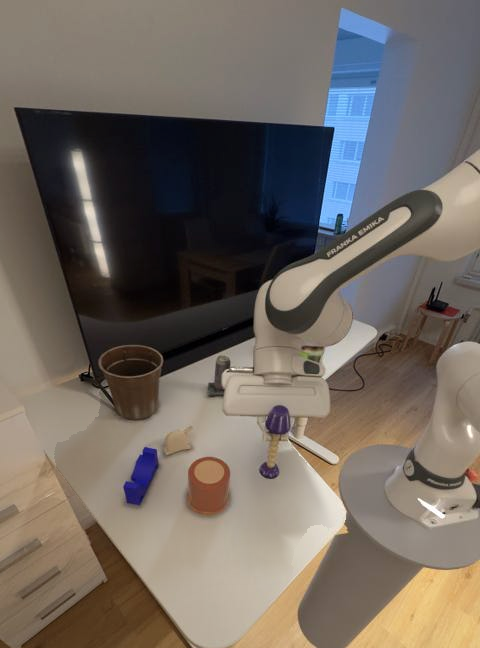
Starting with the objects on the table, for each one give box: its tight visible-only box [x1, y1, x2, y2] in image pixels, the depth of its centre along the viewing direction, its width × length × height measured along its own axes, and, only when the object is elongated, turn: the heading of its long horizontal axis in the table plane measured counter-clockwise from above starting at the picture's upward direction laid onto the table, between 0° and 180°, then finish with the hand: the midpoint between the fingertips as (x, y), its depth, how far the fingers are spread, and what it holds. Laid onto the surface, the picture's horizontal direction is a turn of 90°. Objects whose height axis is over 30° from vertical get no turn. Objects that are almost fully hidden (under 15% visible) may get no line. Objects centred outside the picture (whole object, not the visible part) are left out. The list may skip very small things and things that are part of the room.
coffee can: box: [300, 346, 326, 364], centre depth 123 cm, size 10×10×14 cm
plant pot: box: [98, 344, 164, 421], centre depth 95 cm, size 16×16×16 cm
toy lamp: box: [258, 405, 291, 480], centre depth 65 cm, size 5×5×17 cm
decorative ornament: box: [163, 425, 194, 456], centre depth 89 cm, size 4×8×5 cm, turn 115°
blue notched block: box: [122, 446, 160, 507], centre depth 79 cm, size 12×4×6 cm, turn 170°
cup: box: [186, 456, 231, 516], centre depth 76 cm, size 10×10×9 cm
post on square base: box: [206, 355, 231, 398], centre depth 106 cm, size 9×8×12 cm
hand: (275, 441), depth 64 cm, fingers closed on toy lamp
